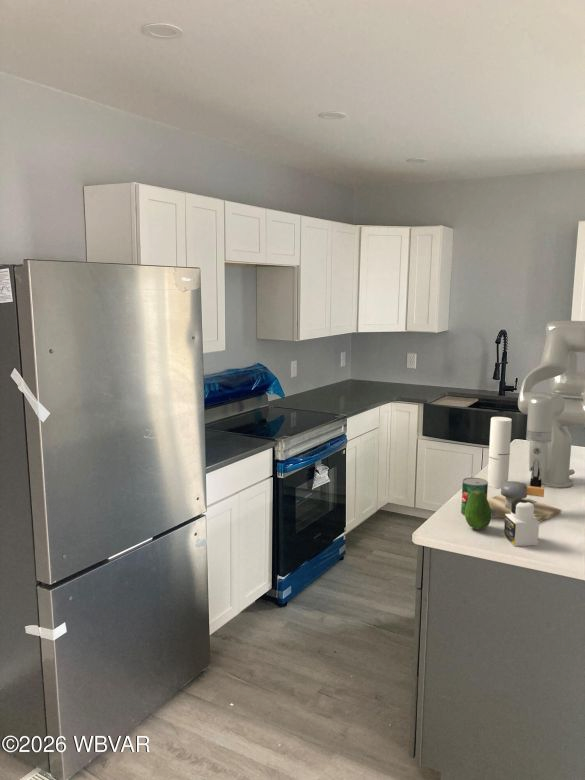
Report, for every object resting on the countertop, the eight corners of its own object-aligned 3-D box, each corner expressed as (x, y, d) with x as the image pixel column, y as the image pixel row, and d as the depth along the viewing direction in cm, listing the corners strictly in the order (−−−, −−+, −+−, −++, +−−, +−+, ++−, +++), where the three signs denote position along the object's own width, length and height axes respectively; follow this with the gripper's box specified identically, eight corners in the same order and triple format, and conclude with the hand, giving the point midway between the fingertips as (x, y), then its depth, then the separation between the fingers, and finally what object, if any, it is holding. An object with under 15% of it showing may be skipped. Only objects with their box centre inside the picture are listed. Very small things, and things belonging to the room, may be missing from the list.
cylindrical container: (508, 489, 227) (513, 421, 222) (488, 487, 228) (492, 420, 224) (506, 482, 234) (510, 417, 229) (486, 481, 235) (489, 416, 231)
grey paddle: (499, 496, 201) (500, 487, 201) (502, 489, 209) (502, 480, 208) (543, 502, 196) (543, 492, 196) (544, 494, 204) (544, 484, 203)
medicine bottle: (503, 536, 185) (505, 497, 183) (526, 535, 185) (529, 496, 183) (513, 546, 178) (516, 506, 176) (538, 545, 178) (540, 505, 176)
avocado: (460, 524, 194) (462, 486, 192) (485, 523, 195) (487, 486, 193) (469, 534, 186) (471, 495, 184) (495, 533, 187) (497, 495, 185)
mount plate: (508, 496, 219) (509, 481, 218) (560, 513, 202) (561, 497, 202) (473, 506, 209) (474, 491, 208) (526, 526, 192) (527, 508, 192)
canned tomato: (455, 511, 205) (457, 478, 203) (476, 508, 208) (477, 476, 206) (470, 519, 198) (472, 486, 196) (491, 516, 200) (493, 483, 199)
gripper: (550, 442, 192) (546, 499, 195) (552, 431, 205) (549, 485, 209) (524, 439, 195) (520, 496, 198) (528, 429, 208) (525, 482, 212)
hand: (535, 490), depth 203 cm, fingers closed
